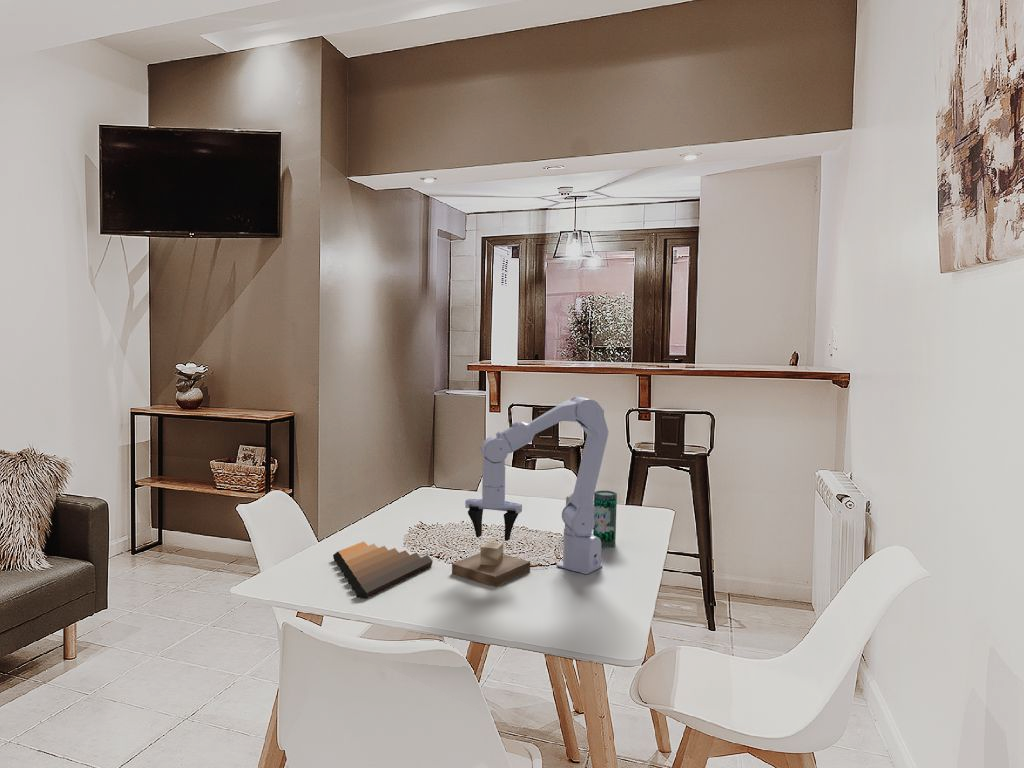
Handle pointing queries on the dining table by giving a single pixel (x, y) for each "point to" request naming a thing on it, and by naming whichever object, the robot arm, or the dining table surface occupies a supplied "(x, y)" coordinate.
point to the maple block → (491, 553)
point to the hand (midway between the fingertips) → (493, 538)
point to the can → (605, 517)
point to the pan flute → (377, 567)
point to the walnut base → (491, 570)
